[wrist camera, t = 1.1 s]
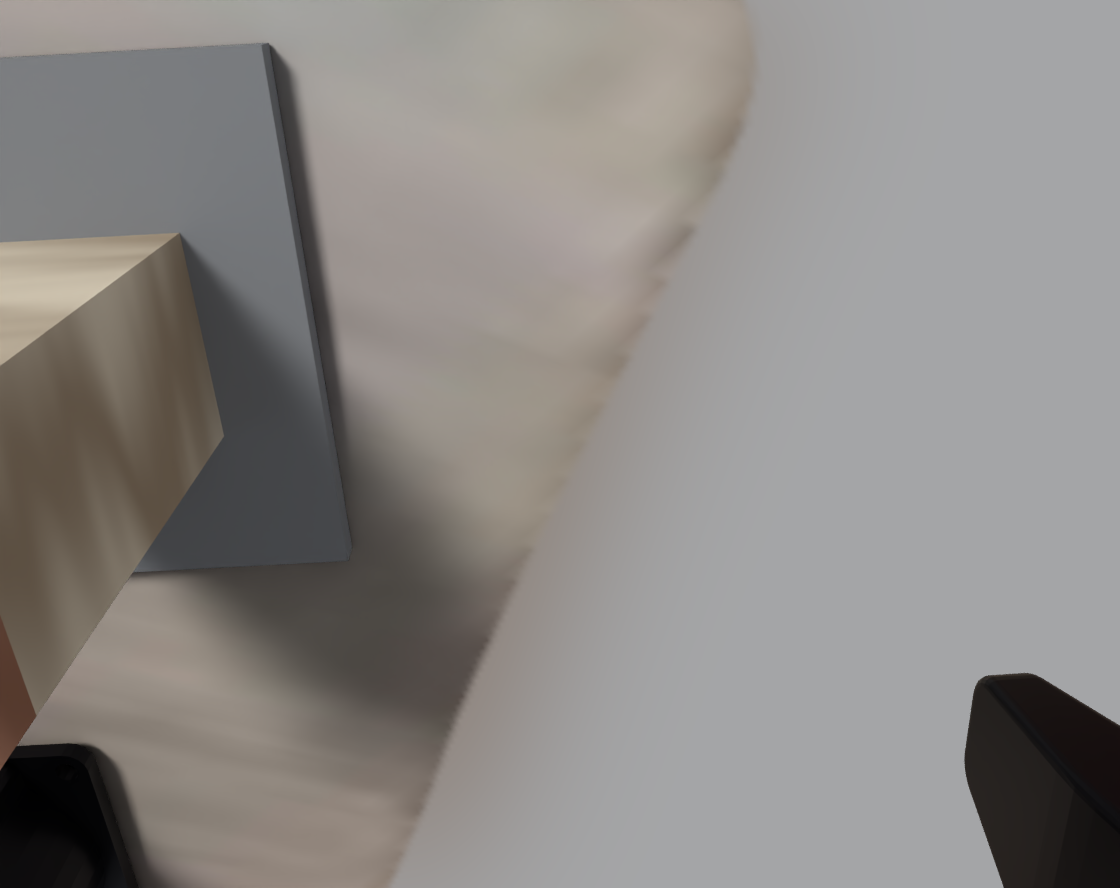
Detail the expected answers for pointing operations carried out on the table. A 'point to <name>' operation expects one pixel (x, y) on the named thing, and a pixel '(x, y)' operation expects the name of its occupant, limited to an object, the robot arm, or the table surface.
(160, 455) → the beech block
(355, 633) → the table surface
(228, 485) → the rubber mat
